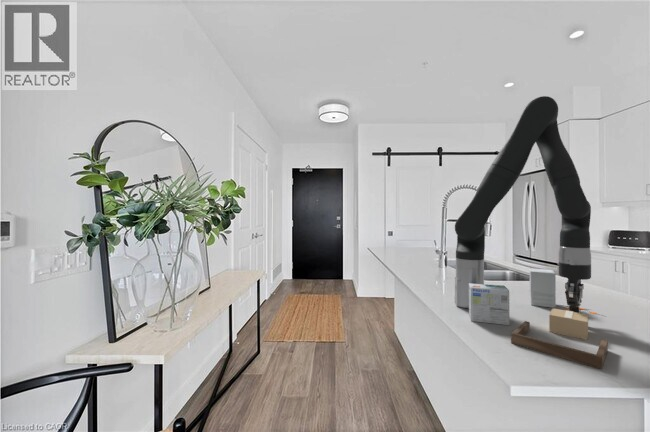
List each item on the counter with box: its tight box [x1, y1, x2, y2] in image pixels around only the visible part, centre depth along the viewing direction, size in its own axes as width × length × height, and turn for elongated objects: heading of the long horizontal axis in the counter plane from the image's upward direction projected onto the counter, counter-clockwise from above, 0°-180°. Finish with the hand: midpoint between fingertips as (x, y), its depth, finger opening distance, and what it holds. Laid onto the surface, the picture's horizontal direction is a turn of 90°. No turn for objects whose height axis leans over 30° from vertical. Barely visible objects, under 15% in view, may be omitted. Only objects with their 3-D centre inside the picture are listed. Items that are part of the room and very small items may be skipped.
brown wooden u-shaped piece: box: [510, 320, 609, 370], centre depth 73 cm, size 13×17×2 cm
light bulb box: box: [468, 283, 511, 326], centre depth 91 cm, size 11×7×11 cm, turn 71°
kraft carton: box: [548, 308, 589, 341], centre depth 82 cm, size 8×8×5 cm
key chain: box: [556, 304, 607, 318], centre depth 101 cm, size 13×7×1 cm, turn 50°
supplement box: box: [529, 268, 557, 309], centre depth 107 cm, size 7×7×13 cm
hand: (574, 318), depth 88 cm, fingers closed
